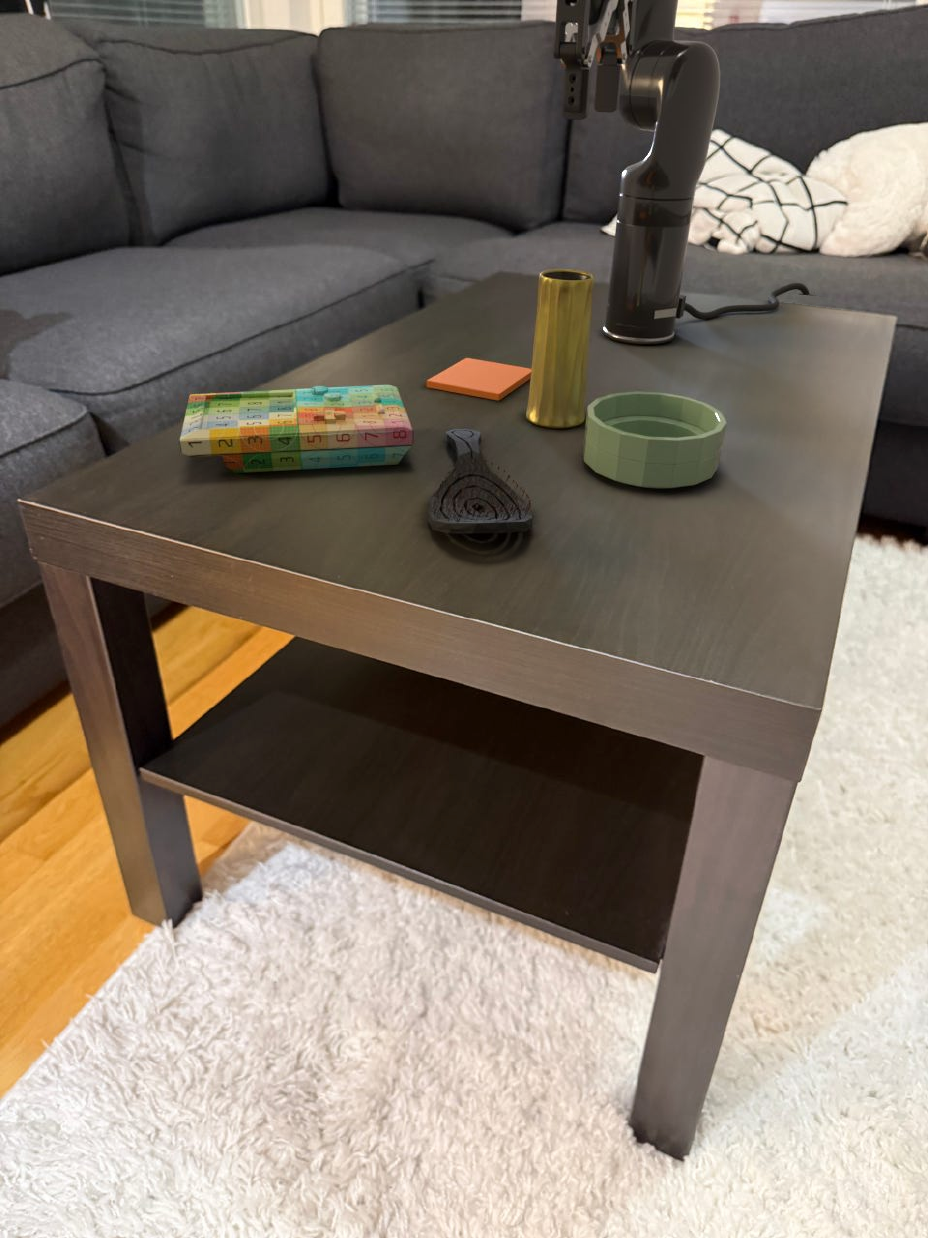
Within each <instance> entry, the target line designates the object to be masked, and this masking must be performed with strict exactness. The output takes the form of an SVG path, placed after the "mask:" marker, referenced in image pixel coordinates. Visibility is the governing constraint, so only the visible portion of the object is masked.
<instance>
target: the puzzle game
mask: <svg viewBox="0 0 928 1238" xmlns="http://www.w3.org/2000/svg"><path fill="white" fill-rule="evenodd" d="M180 431H181V432H180V435H179V438H178V439H179V440H178V444H179V451H180V454H181V455H185V456H187V457H189V458H191V457H193V458H194V457H195V458H199V457H222V460H223V463H224V466H225V467H226V468H228V469H229V470H231V471H232V472H233V473H235V474H241V473H259V472H279V471H280V472H281V471H297V470H298V471H300V470H316V469H335V468H351V467H352V468H355V467H371V466H372V467H374V466H375V467H376V466H391V465H392V466H393V465H399V464H400V463H401V460H403V458H404V457H405V454H406V453H407V452H408V451H409V450H410V449H411V448H412V447H413V446H414V429H413V426H412V423H411V420H410V417H409V415H408V412H407V410H406V407H405V405H404V402H403V399H402V396H401V394H400V391H399V388H398V386H395V385H391V384H375V385H371V384H370V385H354V386H353V385H352V386H351V385H350V386H333V387H328V386H324V385H315V386H312V387H311V388H292V389H290V388H289V389H274V390H273V389H272V390H269V389H268V390H252V391H250V390H249V391H235V392H234V391H232V392H229V391H227V392H210V393H208V392H207V393H191V394H189V396H188V400H187V403H186V409H185V413H184V418H183V421H182V426H181V430H180Z"/></svg>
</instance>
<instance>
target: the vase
mask: <svg viewBox="0 0 928 1238" xmlns="http://www.w3.org/2000/svg"><path fill="white" fill-rule="evenodd" d="M594 285H595V275H594V274H592V273H590V272H588V271H584V270H579V269H569V268H555V269H554V268H553V269H547V270H543V271H541V272H540V273H539V277H538V286H537V287H538V288H537V289H538V290H537V291H538V292H537V304H536V318H535V328H534V338H533V349H532V350H533V351H532V362H531V369H532V371H531V379H530V384H529V393H528V401H527V407H526V412H525V417H526V420H528V421H529V422H530V423H532V424H534V425H536V426H539V427H542V428H546V429H547V428H548V429H557V430H559V429H570V428H575V427H578V426H580V425H582V424H583V423H585V421H586V413H585V405H586V404H585V403H586V389H587V377H588V376H587V373H588V358H589V345H590V344H589V342H590V331H591V329H590V327H591V318H592V308H593V298H594V296H593V295H594V287H595V286H594Z"/></svg>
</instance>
